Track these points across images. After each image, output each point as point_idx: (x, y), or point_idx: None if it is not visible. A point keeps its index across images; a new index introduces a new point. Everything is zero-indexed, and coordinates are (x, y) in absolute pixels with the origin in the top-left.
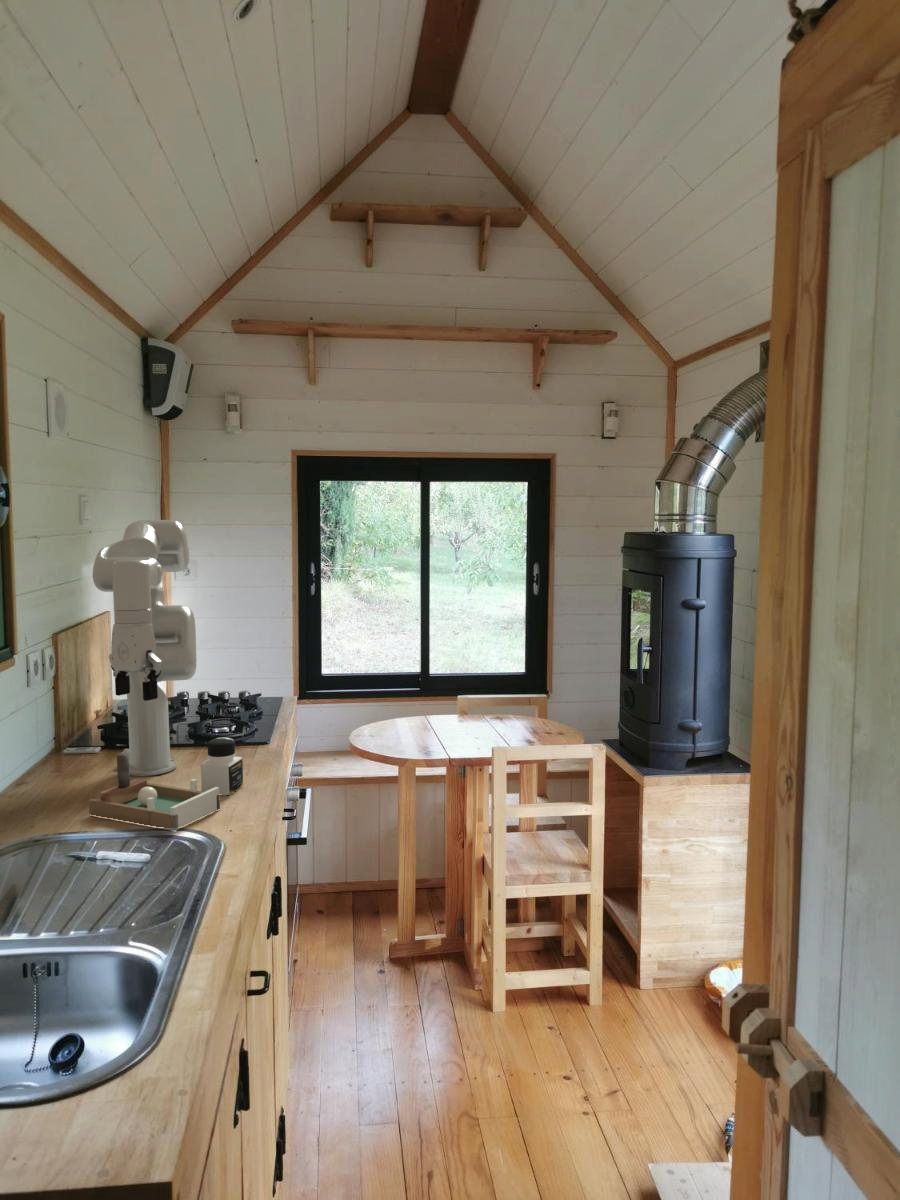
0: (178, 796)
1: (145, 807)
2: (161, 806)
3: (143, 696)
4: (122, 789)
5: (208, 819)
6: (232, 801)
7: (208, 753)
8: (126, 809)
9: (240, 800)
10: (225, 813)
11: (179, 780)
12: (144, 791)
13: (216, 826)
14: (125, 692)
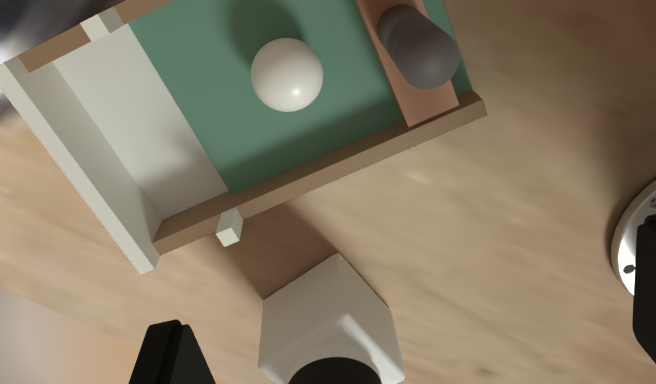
0: (285, 174)
1: None
2: (241, 97)
3: (156, 345)
4: (363, 6)
5: None
6: (213, 286)
7: (342, 362)
8: None
9: (207, 304)
10: None
11: (512, 253)
12: (268, 63)
13: (19, 169)
14: (642, 303)
